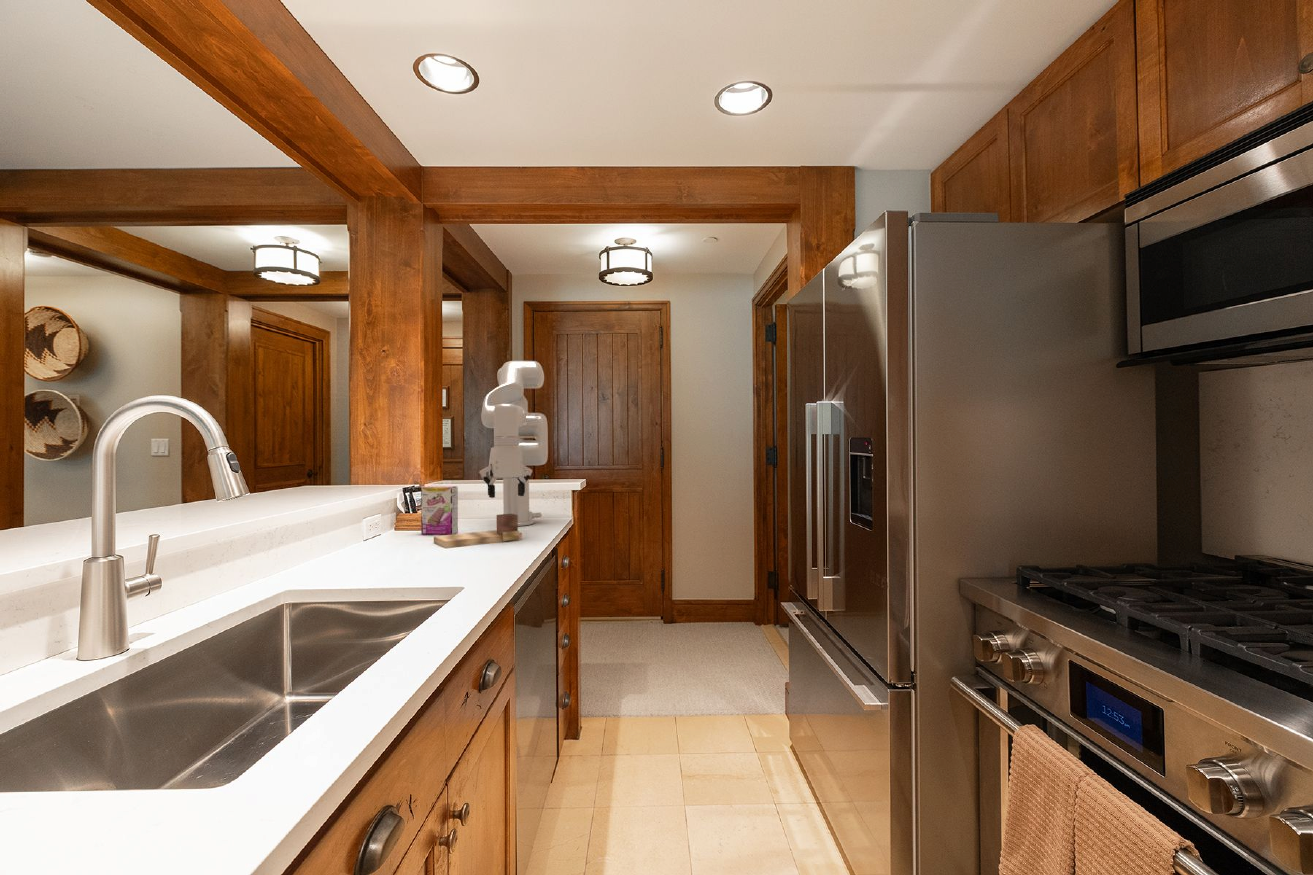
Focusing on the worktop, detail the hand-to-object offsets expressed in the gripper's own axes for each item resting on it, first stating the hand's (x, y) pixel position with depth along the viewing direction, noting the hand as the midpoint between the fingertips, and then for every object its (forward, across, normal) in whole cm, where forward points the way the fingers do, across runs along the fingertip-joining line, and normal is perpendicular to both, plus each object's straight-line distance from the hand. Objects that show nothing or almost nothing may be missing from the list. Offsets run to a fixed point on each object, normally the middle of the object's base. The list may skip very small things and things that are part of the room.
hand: (506, 496), depth 193 cm
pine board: (+14, +8, -5) cm, 16 cm away
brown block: (+13, 0, 0) cm, 13 cm away
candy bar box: (+14, +12, -28) cm, 33 cm away
